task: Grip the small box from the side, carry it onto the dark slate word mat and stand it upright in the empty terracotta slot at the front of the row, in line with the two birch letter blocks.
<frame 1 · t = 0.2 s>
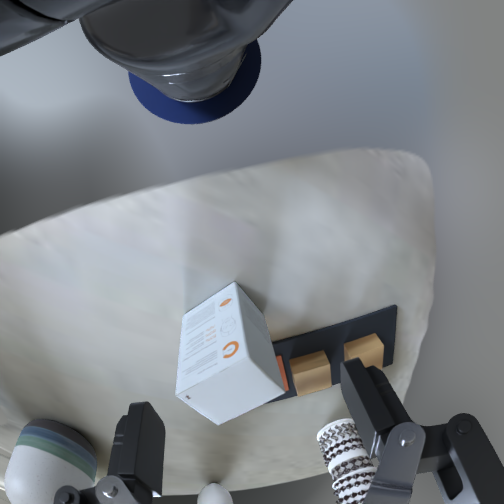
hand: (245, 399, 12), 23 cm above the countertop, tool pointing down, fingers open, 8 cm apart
small box: (223, 314, 37), on the countertop
word mat: (307, 364, 42), on the countertop
decorative candle: (337, 430, 51), on the countertop
letter block middle: (308, 366, 42), resting on word mat
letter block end: (359, 350, 42), resting on word mat
white teardrop ornament: (213, 483, 56), on the countertop
vase: (63, 435, 46), on the countertop
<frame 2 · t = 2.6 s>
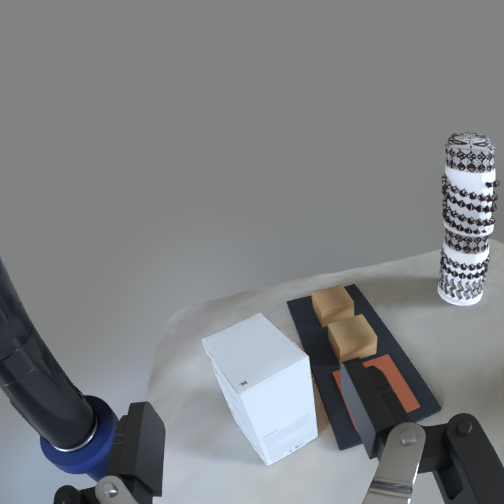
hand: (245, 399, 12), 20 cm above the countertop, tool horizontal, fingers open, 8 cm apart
small box: (274, 429, 30), on the countertop
word mat: (351, 349, 38), on the countertop
decorative candle: (460, 291, 42), on the countertop
letter block middle: (351, 347, 38), resting on word mat
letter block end: (333, 313, 45), resting on word mat
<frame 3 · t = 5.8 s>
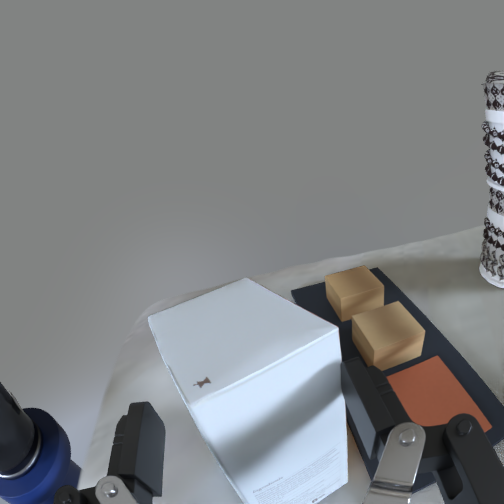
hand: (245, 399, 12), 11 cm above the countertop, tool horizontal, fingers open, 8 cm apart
small box: (277, 473, 17), on the countertop
word mat: (385, 351, 26), on the countertop
letter block middle: (385, 348, 26), resting on word mat
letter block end: (354, 303, 33), resting on word mat
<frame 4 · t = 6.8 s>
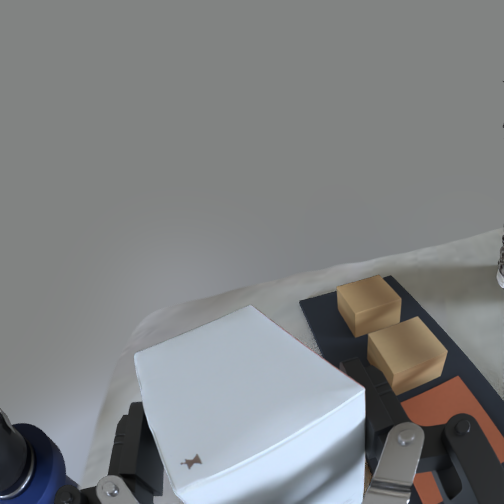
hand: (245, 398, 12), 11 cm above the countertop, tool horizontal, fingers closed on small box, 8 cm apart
word mat: (402, 371, 23), on the countertop
letter block middle: (403, 367, 23), resting on word mat
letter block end: (368, 316, 30), resting on word mat
when the fingers open (12 cm above the countertop, at t = 13.1 s): small box stays where it is, resting on word mat.
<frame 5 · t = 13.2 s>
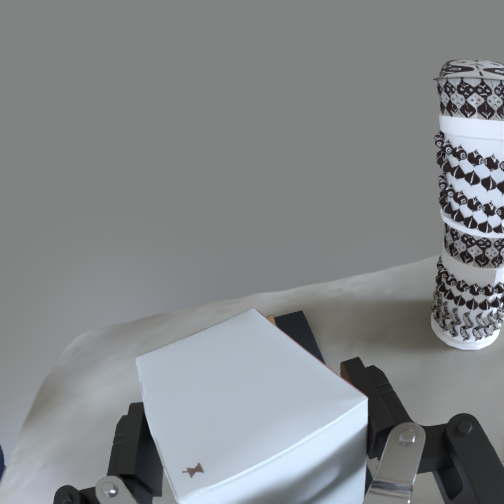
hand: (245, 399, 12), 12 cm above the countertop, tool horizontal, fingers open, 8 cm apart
word mat: (271, 427, 22), on the countertop
decorative candle: (465, 323, 26), on the countertop
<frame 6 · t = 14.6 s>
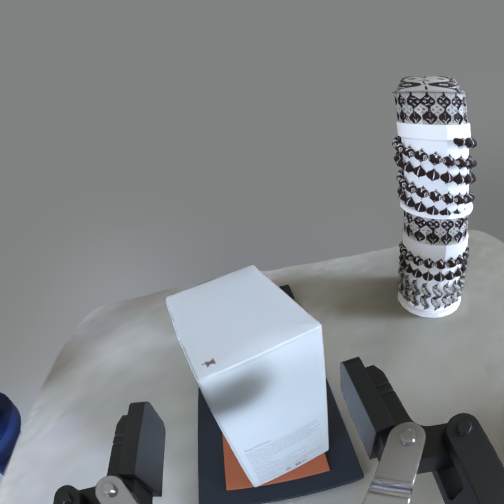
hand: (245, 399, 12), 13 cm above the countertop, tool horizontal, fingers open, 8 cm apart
small box: (270, 436, 22), point 1 cm above the countertop, touching word mat
word mat: (258, 372, 29), on the countertop
decorative candle: (429, 297, 33), on the countertop
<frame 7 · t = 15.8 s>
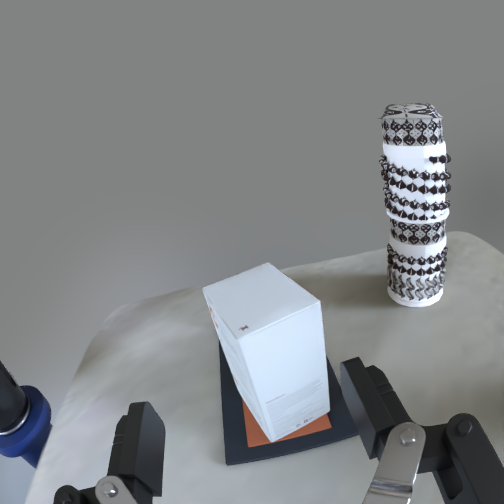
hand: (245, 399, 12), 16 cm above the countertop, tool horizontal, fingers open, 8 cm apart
small box: (282, 402, 28), point 1 cm above the countertop, touching word mat
word mat: (270, 353, 35), on the countertop
decorative candle: (415, 290, 40), on the countertop
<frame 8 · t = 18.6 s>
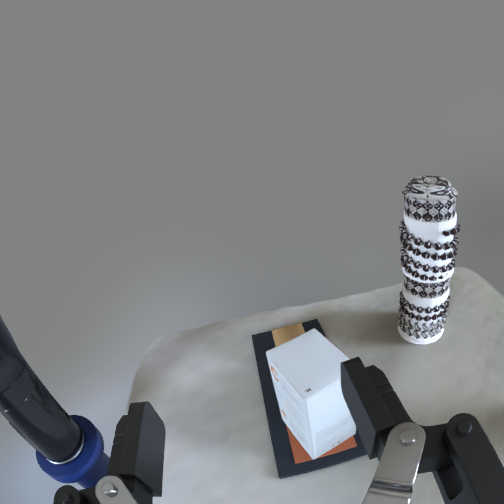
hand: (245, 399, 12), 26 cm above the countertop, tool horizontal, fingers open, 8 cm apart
small box: (318, 427, 34), point 1 cm above the countertop, touching word mat
word mat: (303, 386, 42), on the countertop
decorative candle: (420, 328, 46), on the countertop
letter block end: (292, 349, 49), resting on word mat
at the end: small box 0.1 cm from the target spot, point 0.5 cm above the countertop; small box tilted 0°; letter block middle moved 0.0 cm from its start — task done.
